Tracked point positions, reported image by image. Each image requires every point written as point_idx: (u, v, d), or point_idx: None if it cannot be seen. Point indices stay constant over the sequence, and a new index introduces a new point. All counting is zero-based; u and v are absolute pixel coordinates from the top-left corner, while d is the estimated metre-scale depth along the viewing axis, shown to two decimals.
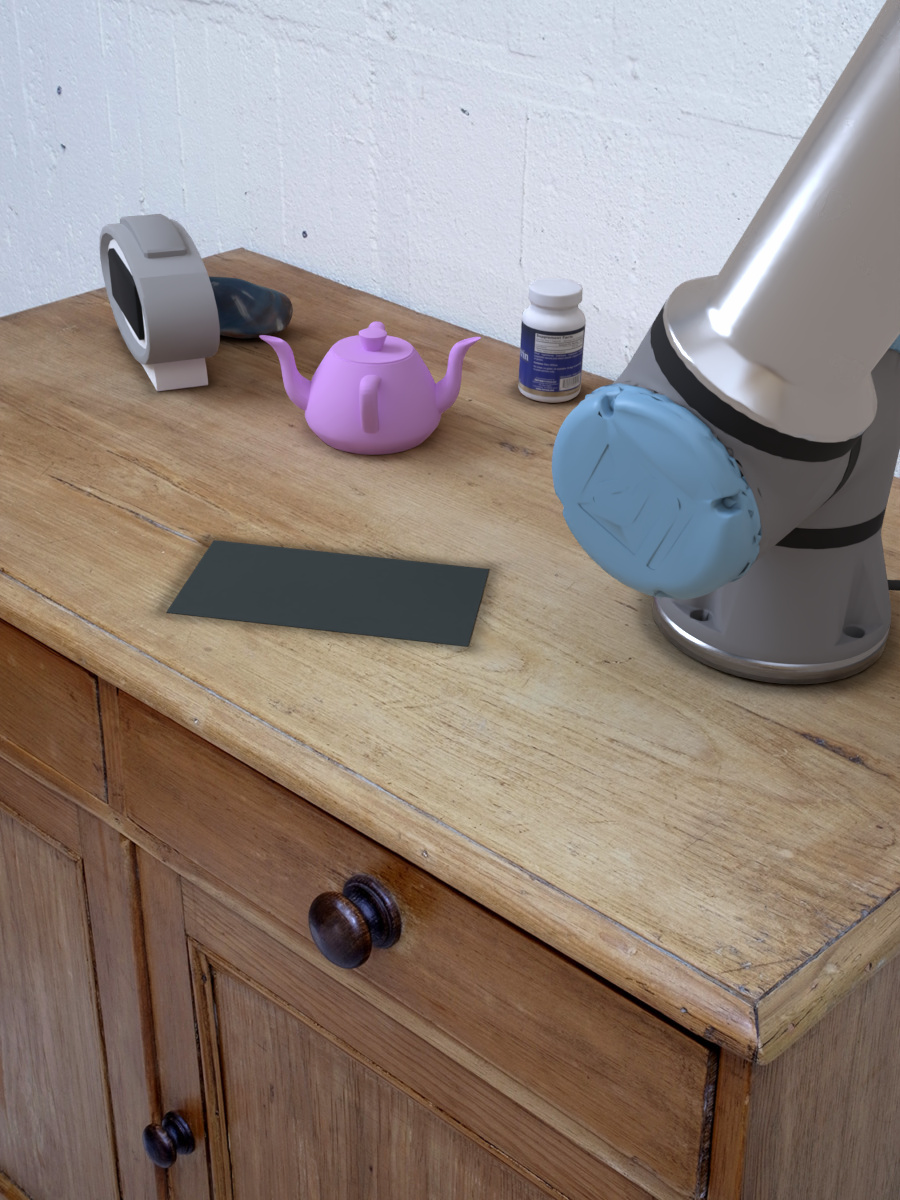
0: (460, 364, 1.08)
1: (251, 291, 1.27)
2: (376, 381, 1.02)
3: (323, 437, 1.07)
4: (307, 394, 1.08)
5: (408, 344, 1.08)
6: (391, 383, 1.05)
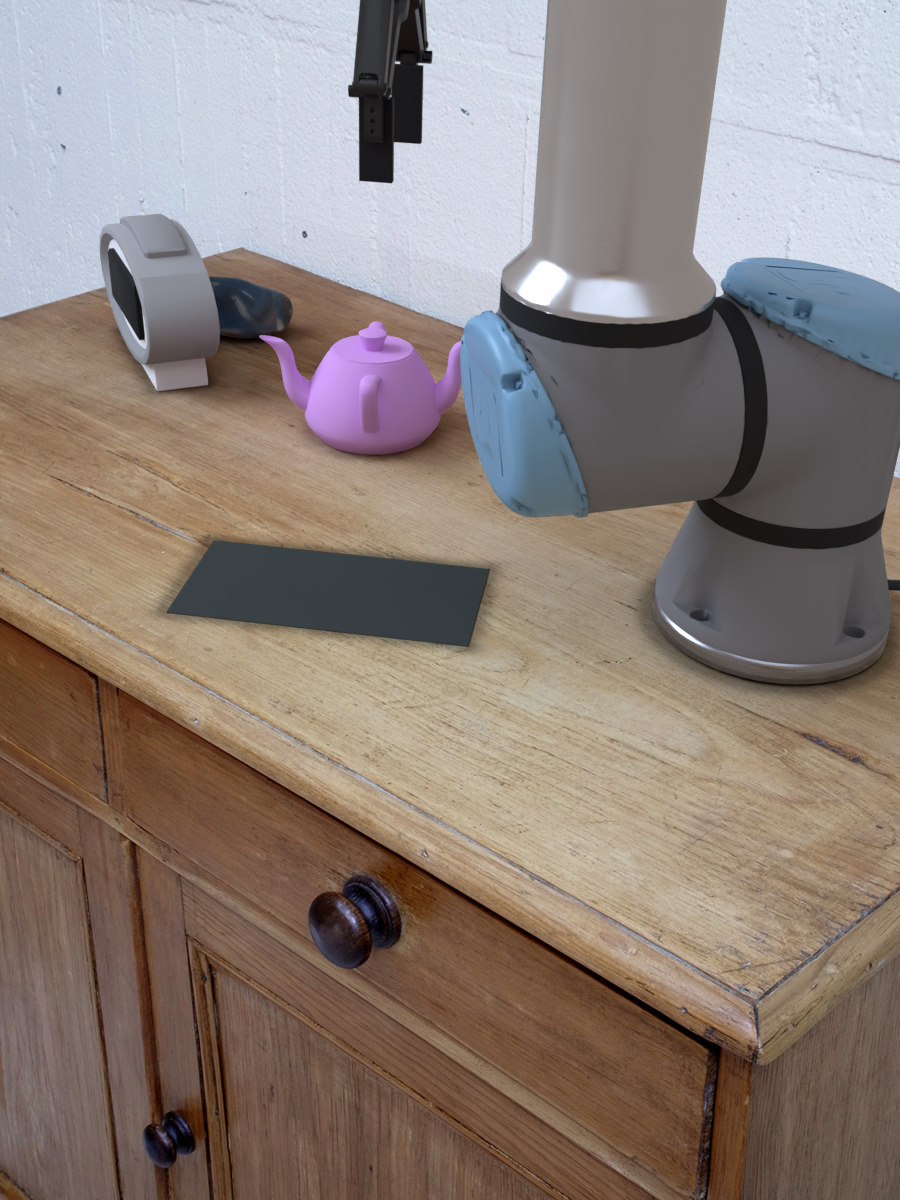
0: None
1: (251, 291, 1.27)
2: (376, 381, 1.02)
3: (323, 437, 1.07)
4: (307, 394, 1.08)
5: (408, 344, 1.08)
6: (391, 383, 1.05)
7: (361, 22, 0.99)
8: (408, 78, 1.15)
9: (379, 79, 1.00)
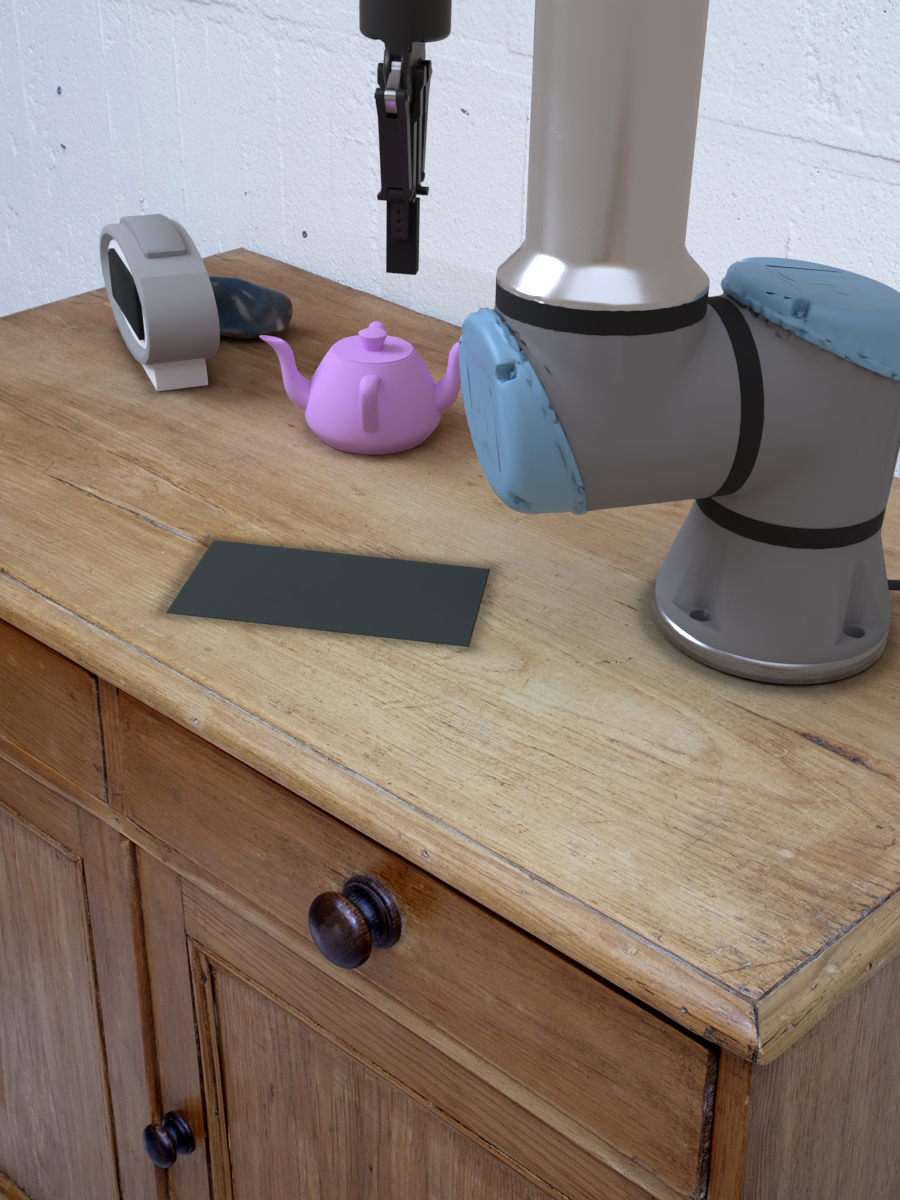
0: None
1: (251, 291, 1.27)
2: (376, 381, 1.02)
3: (323, 437, 1.07)
4: (307, 394, 1.08)
5: (408, 344, 1.08)
6: (391, 383, 1.05)
7: (382, 145, 1.08)
8: None
9: None
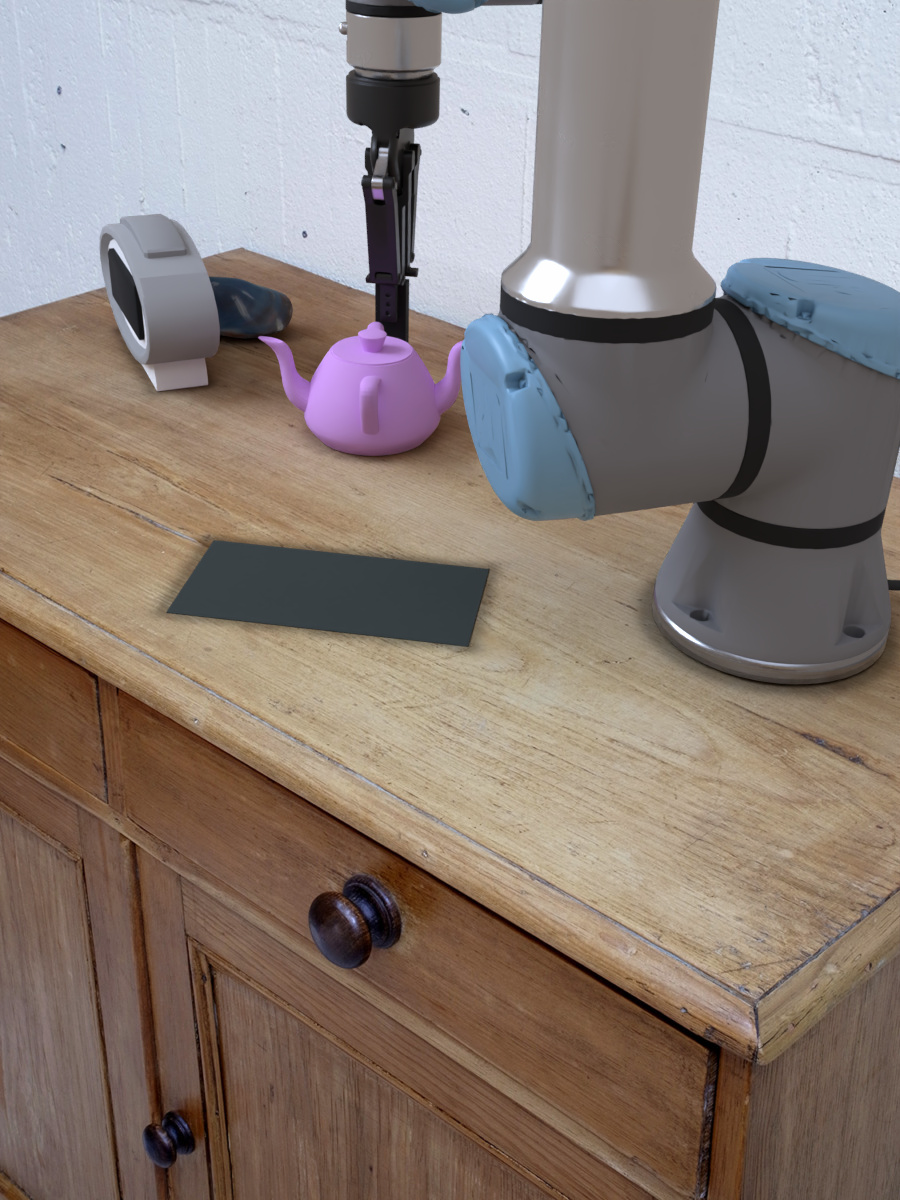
0: None
1: (251, 291, 1.27)
2: (376, 382, 1.02)
3: (323, 438, 1.07)
4: (306, 395, 1.08)
5: (407, 345, 1.08)
6: (391, 384, 1.05)
7: (369, 231, 1.06)
8: None
9: None
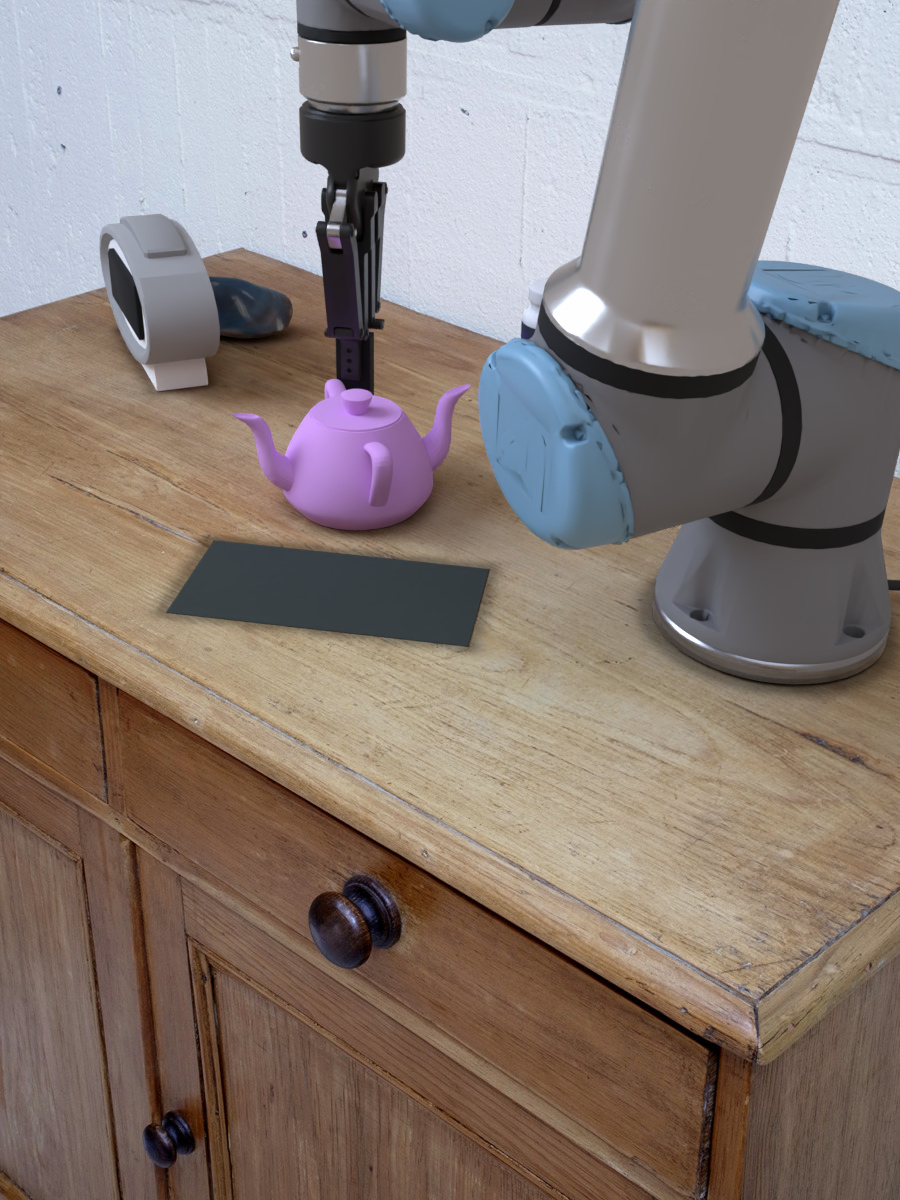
0: (451, 416, 0.98)
1: (251, 291, 1.27)
2: (388, 450, 0.92)
3: (320, 518, 0.95)
4: (291, 472, 0.95)
5: (390, 401, 0.98)
6: (393, 448, 0.94)
7: (326, 282, 0.94)
8: None
9: None
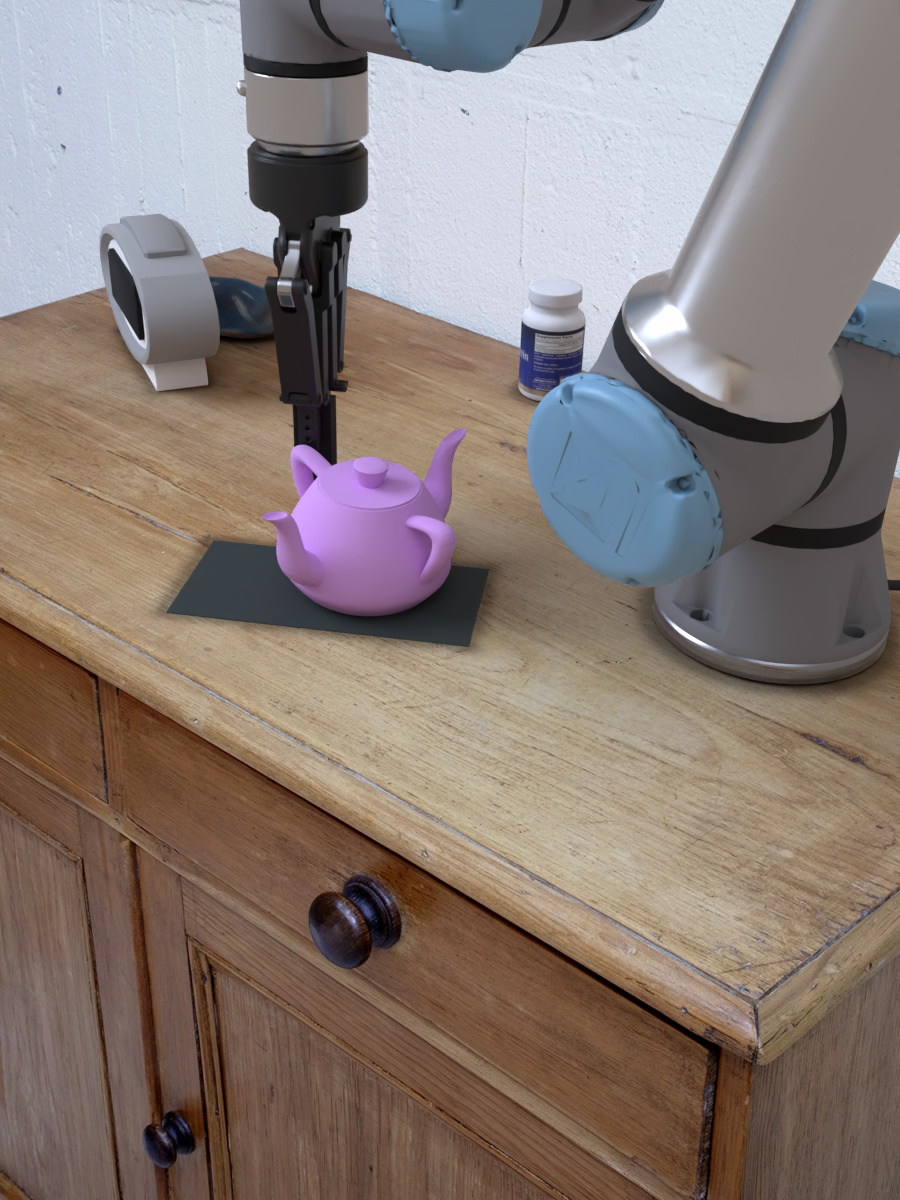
0: (451, 466, 0.90)
1: (251, 291, 1.27)
2: (444, 523, 0.83)
3: (364, 609, 0.85)
4: (321, 566, 0.84)
5: (390, 463, 0.88)
6: (429, 517, 0.85)
7: (279, 343, 0.84)
8: None
9: None
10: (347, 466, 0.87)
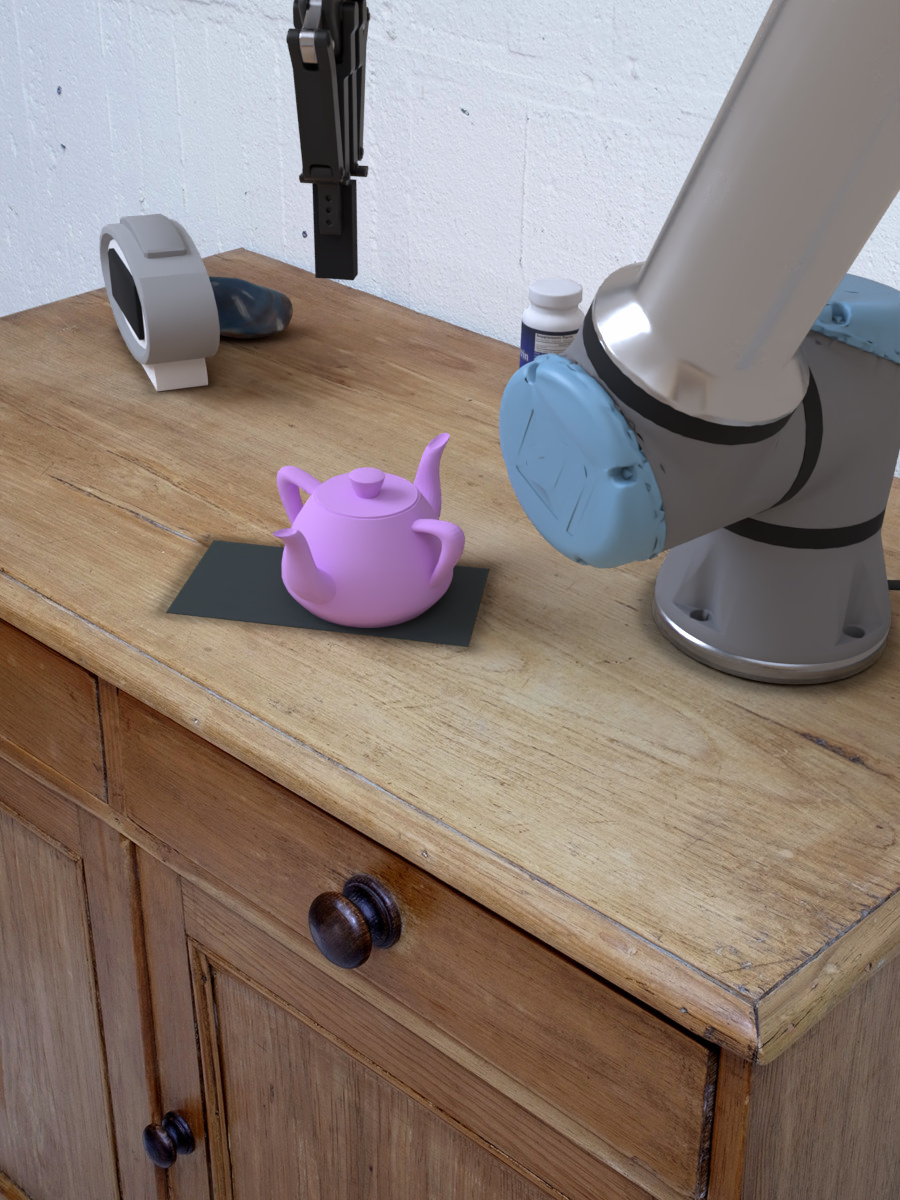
0: (438, 471, 0.90)
1: (251, 291, 1.27)
2: None
3: (378, 620, 0.84)
4: (332, 580, 0.82)
5: None
6: None
7: (300, 107, 0.82)
8: None
9: None
10: (339, 480, 0.86)
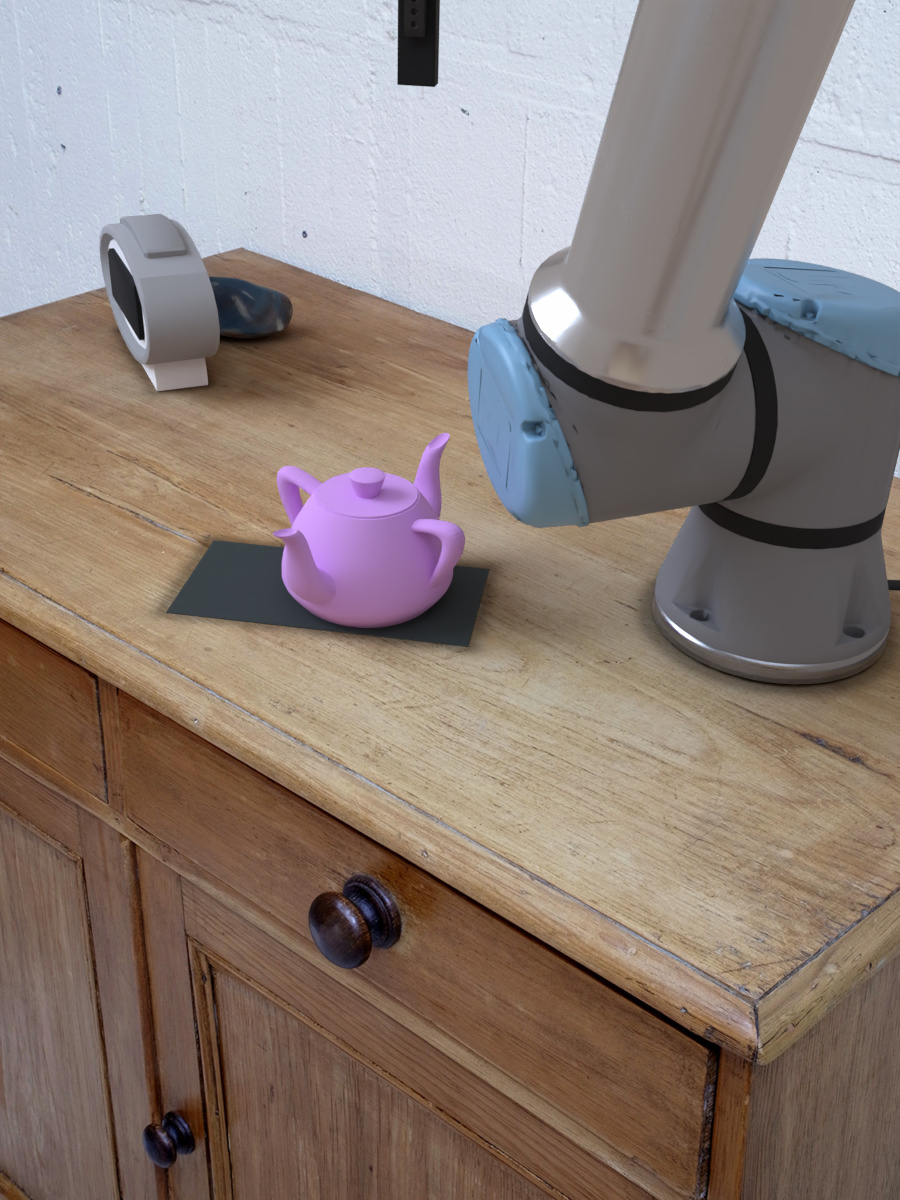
0: (438, 471, 0.90)
1: (251, 291, 1.27)
2: None
3: (378, 620, 0.84)
4: (332, 580, 0.82)
5: None
6: None
7: None
8: None
9: None
10: (340, 480, 0.86)
